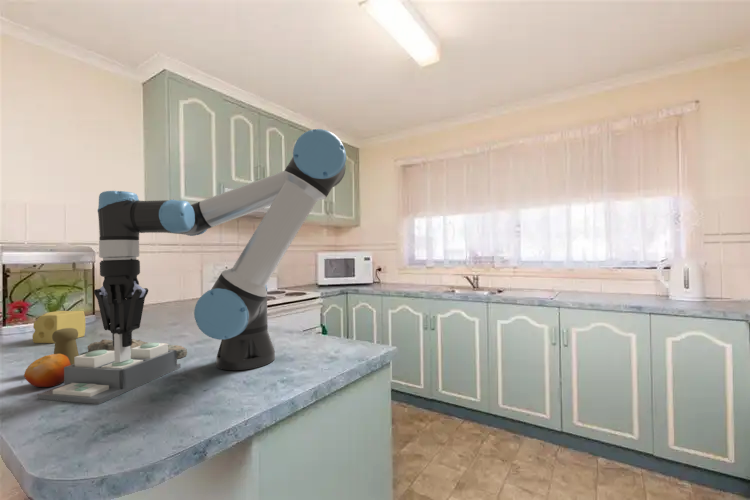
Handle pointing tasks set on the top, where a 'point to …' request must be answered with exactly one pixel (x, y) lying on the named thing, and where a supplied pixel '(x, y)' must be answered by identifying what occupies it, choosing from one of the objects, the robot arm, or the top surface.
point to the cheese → (58, 324)
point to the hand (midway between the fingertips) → (122, 360)
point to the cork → (66, 343)
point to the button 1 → (94, 358)
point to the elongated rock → (108, 346)
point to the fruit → (47, 370)
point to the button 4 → (149, 350)
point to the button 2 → (122, 364)
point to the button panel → (109, 379)
